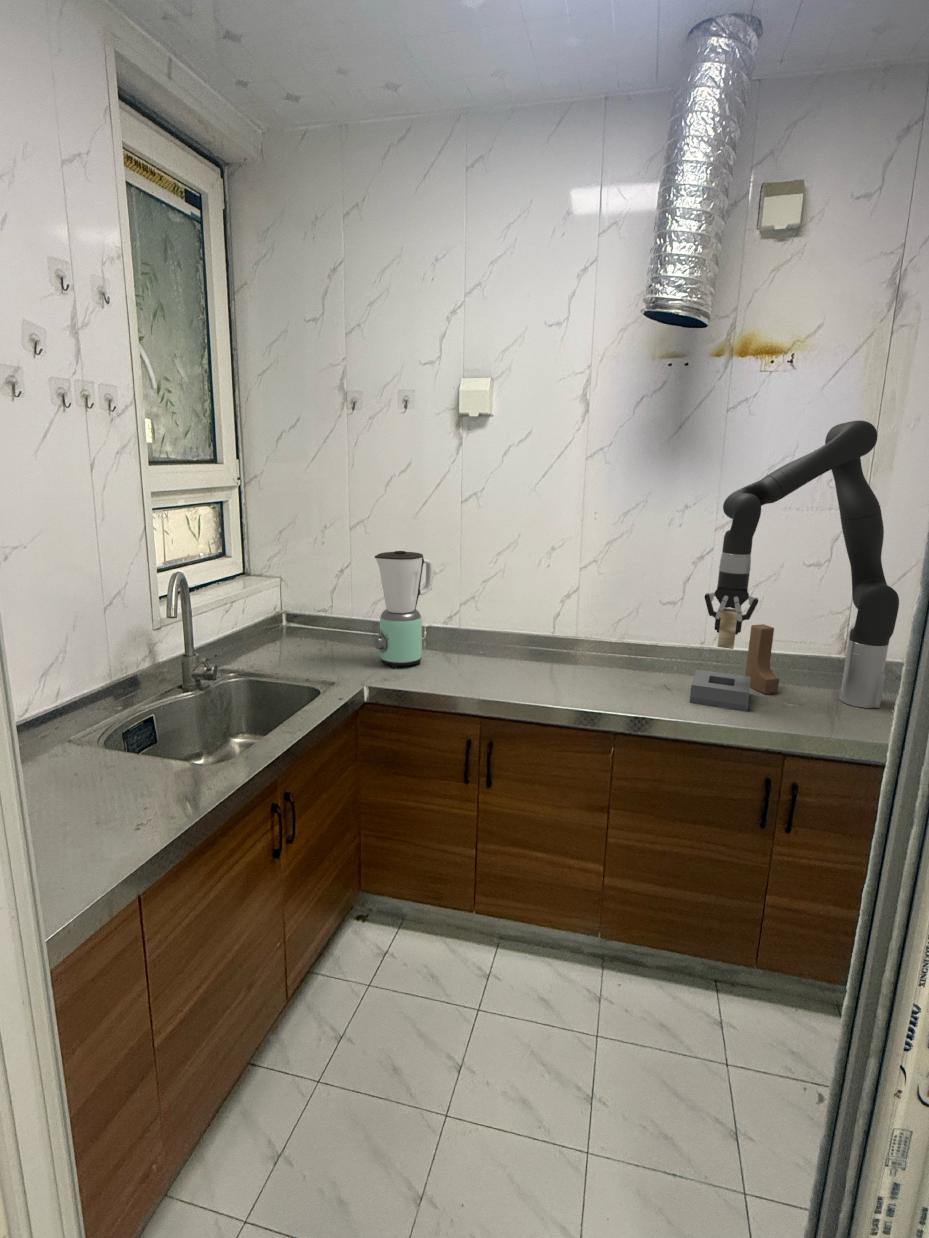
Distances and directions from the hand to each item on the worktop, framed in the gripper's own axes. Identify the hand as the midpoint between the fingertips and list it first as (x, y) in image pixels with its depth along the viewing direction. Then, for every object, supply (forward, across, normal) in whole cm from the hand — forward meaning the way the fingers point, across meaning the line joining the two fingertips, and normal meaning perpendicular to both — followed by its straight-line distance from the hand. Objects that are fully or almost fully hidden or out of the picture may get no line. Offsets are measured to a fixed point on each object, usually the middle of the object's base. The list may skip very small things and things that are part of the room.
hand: (727, 632), depth 183 cm
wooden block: (+19, -10, -13) cm, 25 cm away
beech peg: (+4, 0, 0) cm, 4 cm away
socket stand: (+19, 0, 0) cm, 19 cm away
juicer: (+19, +93, +11) cm, 96 cm away
